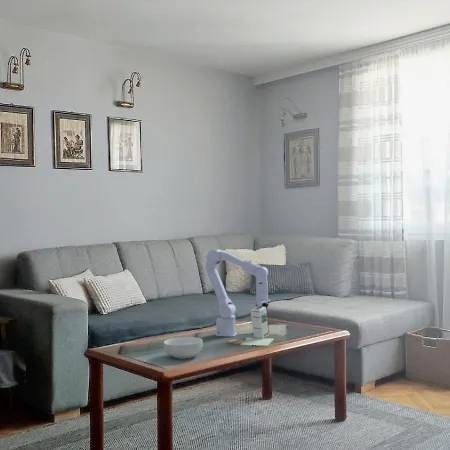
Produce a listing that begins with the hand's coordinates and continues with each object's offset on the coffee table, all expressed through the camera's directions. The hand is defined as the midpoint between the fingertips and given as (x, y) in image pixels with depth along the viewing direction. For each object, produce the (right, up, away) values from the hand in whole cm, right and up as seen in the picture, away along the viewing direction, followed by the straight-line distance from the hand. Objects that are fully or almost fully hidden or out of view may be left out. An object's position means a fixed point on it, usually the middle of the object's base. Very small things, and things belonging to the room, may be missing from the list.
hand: (262, 318), depth 290 cm
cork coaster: (-13, -9, -12) cm, 20 cm away
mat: (-3, -9, -14) cm, 17 cm away
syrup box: (-1, -8, -3) cm, 9 cm away
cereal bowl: (-37, -10, -40) cm, 55 cm away
